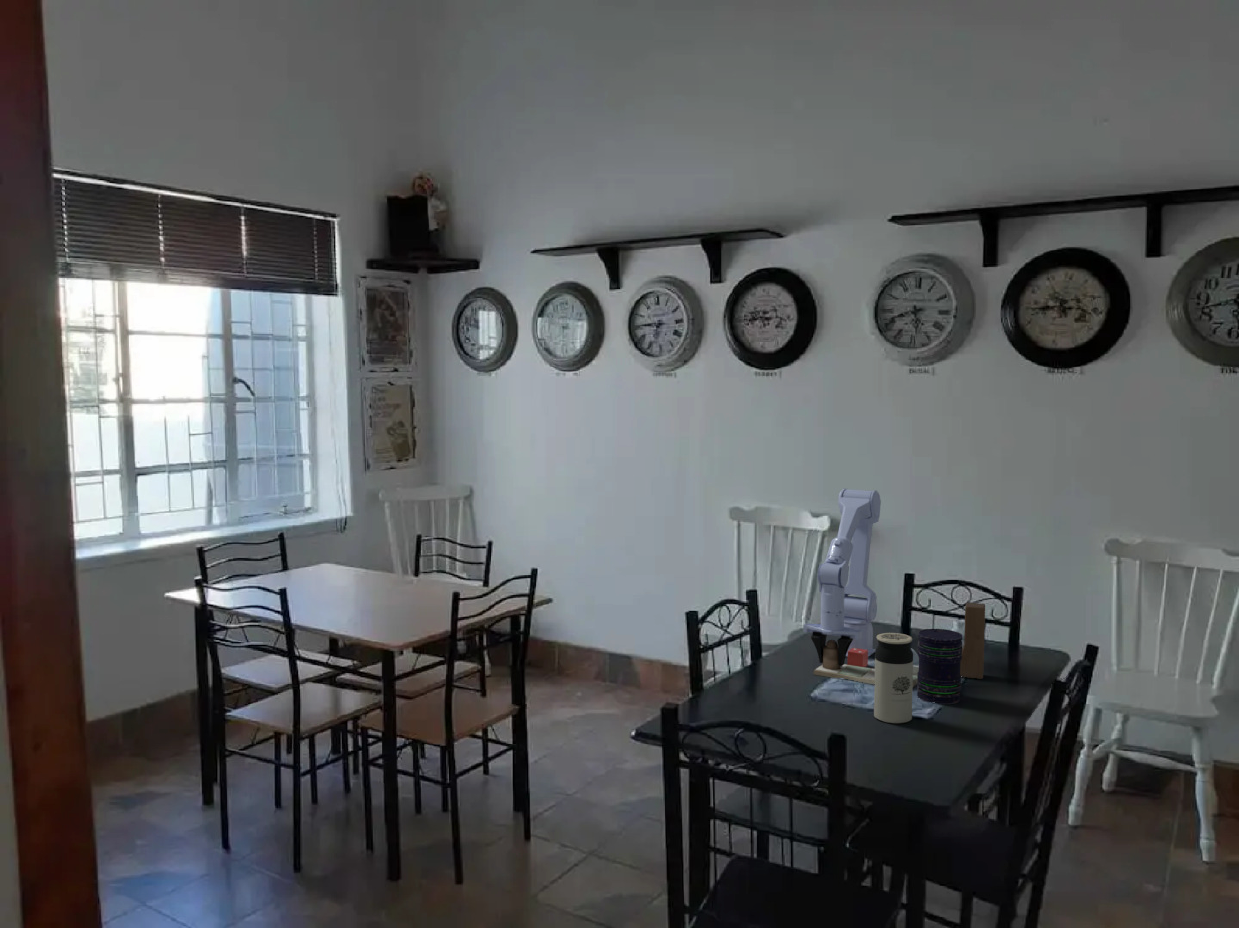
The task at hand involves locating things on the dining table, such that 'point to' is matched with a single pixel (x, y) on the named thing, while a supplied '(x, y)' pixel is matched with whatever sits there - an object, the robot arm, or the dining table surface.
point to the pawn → (831, 655)
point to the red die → (857, 657)
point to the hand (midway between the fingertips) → (831, 663)
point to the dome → (915, 658)
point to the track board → (852, 673)
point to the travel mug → (893, 678)
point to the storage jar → (939, 666)
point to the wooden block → (973, 641)
